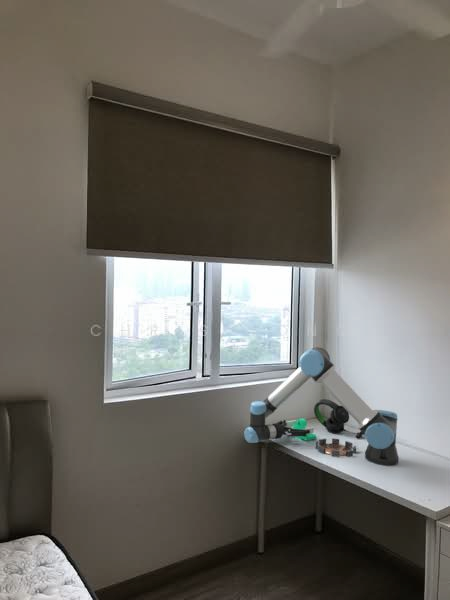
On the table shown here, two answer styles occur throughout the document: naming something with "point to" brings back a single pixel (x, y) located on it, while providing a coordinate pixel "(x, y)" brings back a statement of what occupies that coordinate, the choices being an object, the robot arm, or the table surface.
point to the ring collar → (335, 448)
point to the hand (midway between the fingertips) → (304, 426)
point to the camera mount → (301, 425)
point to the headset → (334, 417)
